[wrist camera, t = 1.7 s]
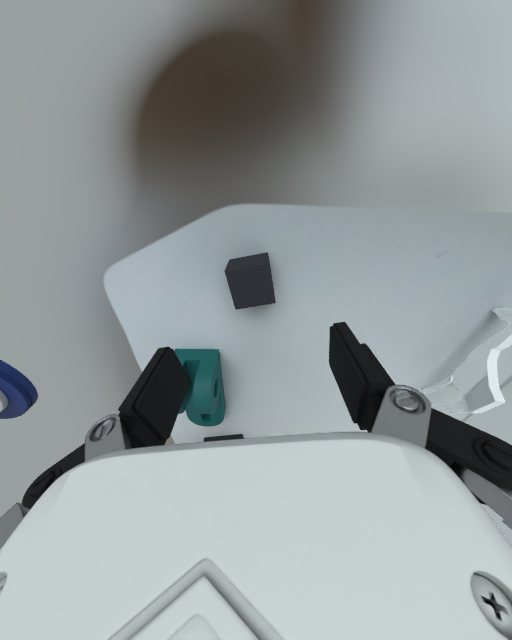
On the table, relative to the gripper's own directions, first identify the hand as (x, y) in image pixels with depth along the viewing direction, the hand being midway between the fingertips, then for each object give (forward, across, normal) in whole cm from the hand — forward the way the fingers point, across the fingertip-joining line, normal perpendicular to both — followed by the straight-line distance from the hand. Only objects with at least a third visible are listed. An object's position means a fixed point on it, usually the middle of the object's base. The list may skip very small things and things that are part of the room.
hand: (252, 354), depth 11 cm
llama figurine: (+15, -28, +19) cm, 37 cm away
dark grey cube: (+14, 0, 0) cm, 14 cm away
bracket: (+14, +13, +19) cm, 27 cm away
